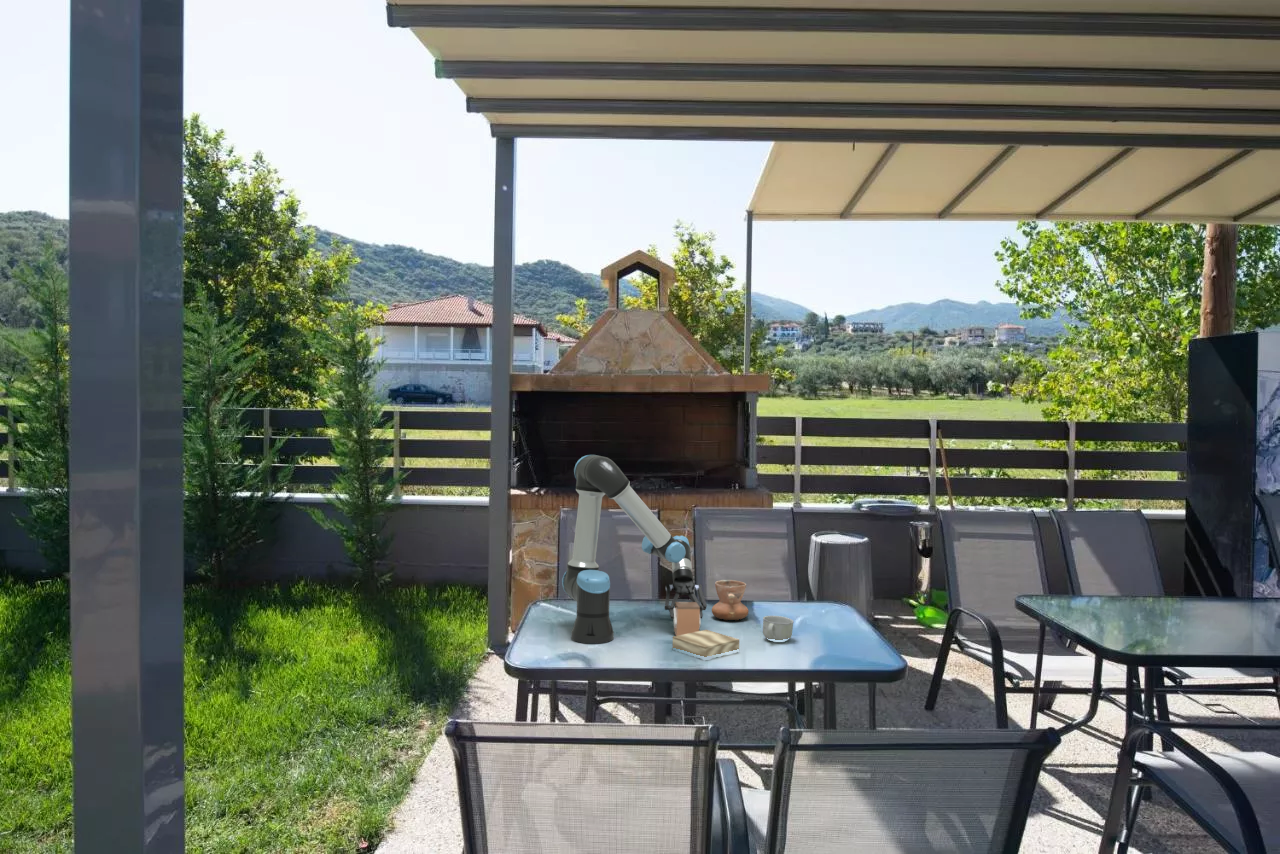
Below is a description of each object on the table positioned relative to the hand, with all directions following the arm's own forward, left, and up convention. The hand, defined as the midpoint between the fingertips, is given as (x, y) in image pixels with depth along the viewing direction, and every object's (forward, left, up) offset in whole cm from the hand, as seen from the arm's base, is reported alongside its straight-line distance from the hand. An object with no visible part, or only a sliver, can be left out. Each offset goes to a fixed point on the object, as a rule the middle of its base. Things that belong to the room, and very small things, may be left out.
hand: (687, 625), depth 316 cm
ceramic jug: (+33, +11, -4) cm, 35 cm away
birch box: (-8, -17, -4) cm, 20 cm away
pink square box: (+1, +2, -4) cm, 4 cm away
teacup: (+21, -23, -4) cm, 32 cm away
